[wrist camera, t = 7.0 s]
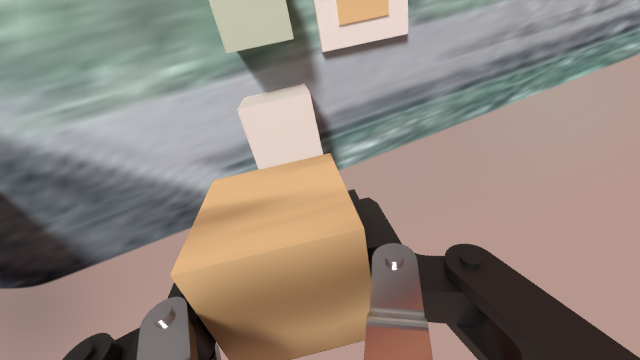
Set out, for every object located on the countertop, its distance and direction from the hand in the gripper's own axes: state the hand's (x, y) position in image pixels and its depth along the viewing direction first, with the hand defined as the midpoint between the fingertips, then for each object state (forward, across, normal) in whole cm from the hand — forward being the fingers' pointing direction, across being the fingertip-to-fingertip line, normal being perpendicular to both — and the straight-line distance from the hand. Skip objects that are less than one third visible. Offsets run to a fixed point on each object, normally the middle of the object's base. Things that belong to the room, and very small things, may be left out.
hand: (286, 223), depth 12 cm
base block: (+17, 0, 0) cm, 17 cm away
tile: (+17, -9, -9) cm, 22 cm away
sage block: (+17, 0, -9) cm, 20 cm away
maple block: (+1, 0, 0) cm, 1 cm away
